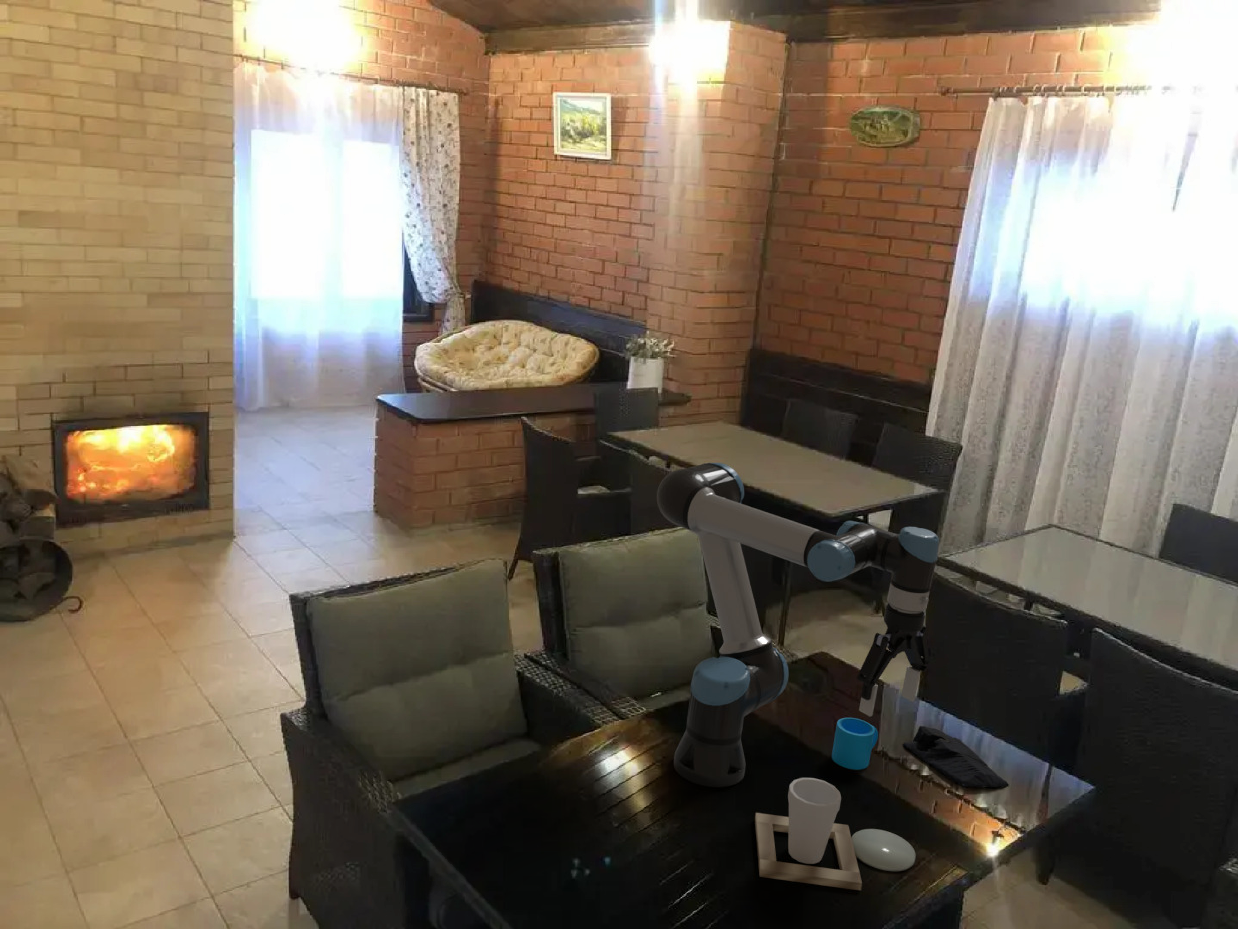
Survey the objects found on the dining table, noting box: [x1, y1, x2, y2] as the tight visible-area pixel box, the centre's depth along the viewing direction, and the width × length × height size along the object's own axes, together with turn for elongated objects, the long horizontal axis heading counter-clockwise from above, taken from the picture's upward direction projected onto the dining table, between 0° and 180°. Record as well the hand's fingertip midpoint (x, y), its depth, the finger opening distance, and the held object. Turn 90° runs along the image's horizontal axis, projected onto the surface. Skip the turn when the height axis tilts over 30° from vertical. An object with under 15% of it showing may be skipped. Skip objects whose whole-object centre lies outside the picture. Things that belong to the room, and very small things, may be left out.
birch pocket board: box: [754, 812, 863, 891], centre depth 192 cm, size 18×18×2 cm
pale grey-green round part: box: [851, 828, 916, 872], centre depth 195 cm, size 12×12×1 cm
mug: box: [831, 717, 879, 771], centre depth 228 cm, size 12×8×8 cm
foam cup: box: [787, 777, 842, 865], centre depth 190 cm, size 10×9×13 cm
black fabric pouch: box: [902, 725, 1009, 788], centre depth 230 cm, size 15×22×5 cm
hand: (887, 705), depth 205 cm, fingers open, 13 cm apart
